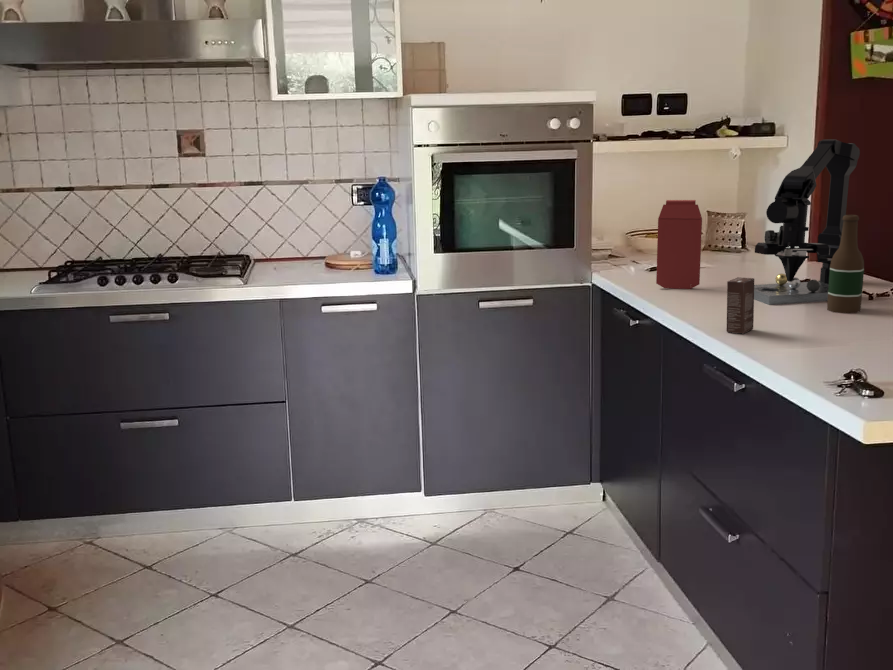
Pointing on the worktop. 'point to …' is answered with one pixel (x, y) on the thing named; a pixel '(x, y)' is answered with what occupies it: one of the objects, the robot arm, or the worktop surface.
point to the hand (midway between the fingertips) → (789, 281)
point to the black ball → (813, 285)
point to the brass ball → (781, 279)
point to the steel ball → (794, 283)
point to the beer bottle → (846, 271)
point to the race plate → (789, 294)
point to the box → (740, 305)
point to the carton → (679, 245)
